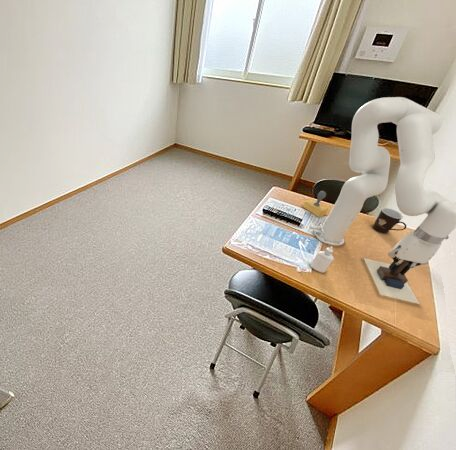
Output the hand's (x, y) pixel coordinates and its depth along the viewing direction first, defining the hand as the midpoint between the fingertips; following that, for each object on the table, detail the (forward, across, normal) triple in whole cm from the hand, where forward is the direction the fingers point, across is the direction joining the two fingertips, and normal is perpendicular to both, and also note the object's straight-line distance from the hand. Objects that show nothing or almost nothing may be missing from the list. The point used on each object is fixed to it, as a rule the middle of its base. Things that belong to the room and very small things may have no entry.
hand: (396, 271), depth 105 cm
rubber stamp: (+5, +21, -43) cm, 48 cm away
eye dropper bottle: (+5, +27, +3) cm, 28 cm away
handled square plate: (+4, 0, 0) cm, 4 cm away
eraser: (+4, 0, +4) cm, 6 cm away
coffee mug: (+5, -10, -36) cm, 38 cm away
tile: (+5, 0, 0) cm, 5 cm away
